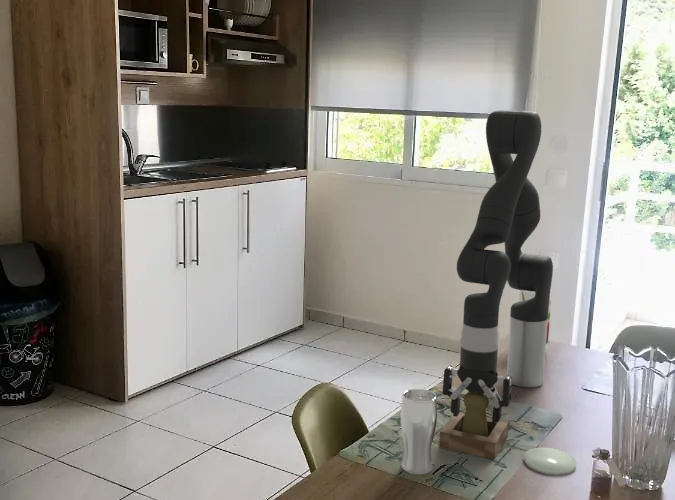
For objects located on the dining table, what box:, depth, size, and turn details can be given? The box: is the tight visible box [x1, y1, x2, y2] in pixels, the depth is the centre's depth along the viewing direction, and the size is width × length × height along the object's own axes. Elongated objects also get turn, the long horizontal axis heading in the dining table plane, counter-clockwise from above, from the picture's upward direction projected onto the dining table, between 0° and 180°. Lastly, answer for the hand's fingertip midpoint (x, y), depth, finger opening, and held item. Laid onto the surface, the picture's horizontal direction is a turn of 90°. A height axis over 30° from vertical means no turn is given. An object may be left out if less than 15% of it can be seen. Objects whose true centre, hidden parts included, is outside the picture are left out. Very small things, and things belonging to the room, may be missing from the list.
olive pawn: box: [461, 391, 490, 437], centre depth 155 cm, size 6×6×11 cm
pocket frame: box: [438, 411, 510, 460], centre depth 156 cm, size 12×12×4 cm
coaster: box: [523, 447, 577, 476], centre depth 148 cm, size 10×10×1 cm
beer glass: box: [400, 388, 438, 475], centre depth 144 cm, size 7×7×15 cm
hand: (475, 418), depth 155 cm, fingers open, 8 cm apart
